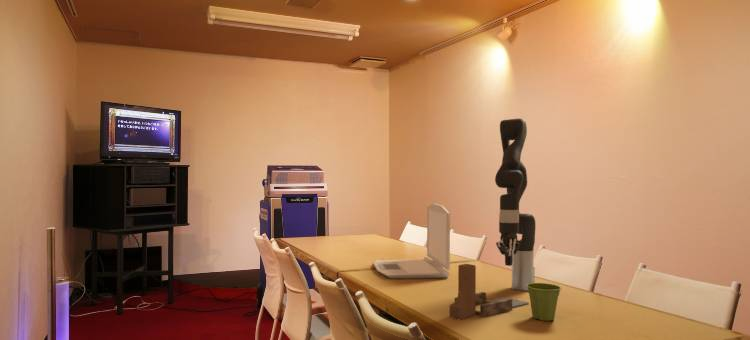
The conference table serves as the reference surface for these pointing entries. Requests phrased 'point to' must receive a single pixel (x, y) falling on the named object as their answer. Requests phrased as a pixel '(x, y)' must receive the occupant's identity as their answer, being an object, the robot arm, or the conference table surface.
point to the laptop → (435, 250)
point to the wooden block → (465, 293)
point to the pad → (514, 302)
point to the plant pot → (543, 300)
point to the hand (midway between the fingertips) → (508, 265)
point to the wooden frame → (491, 305)
